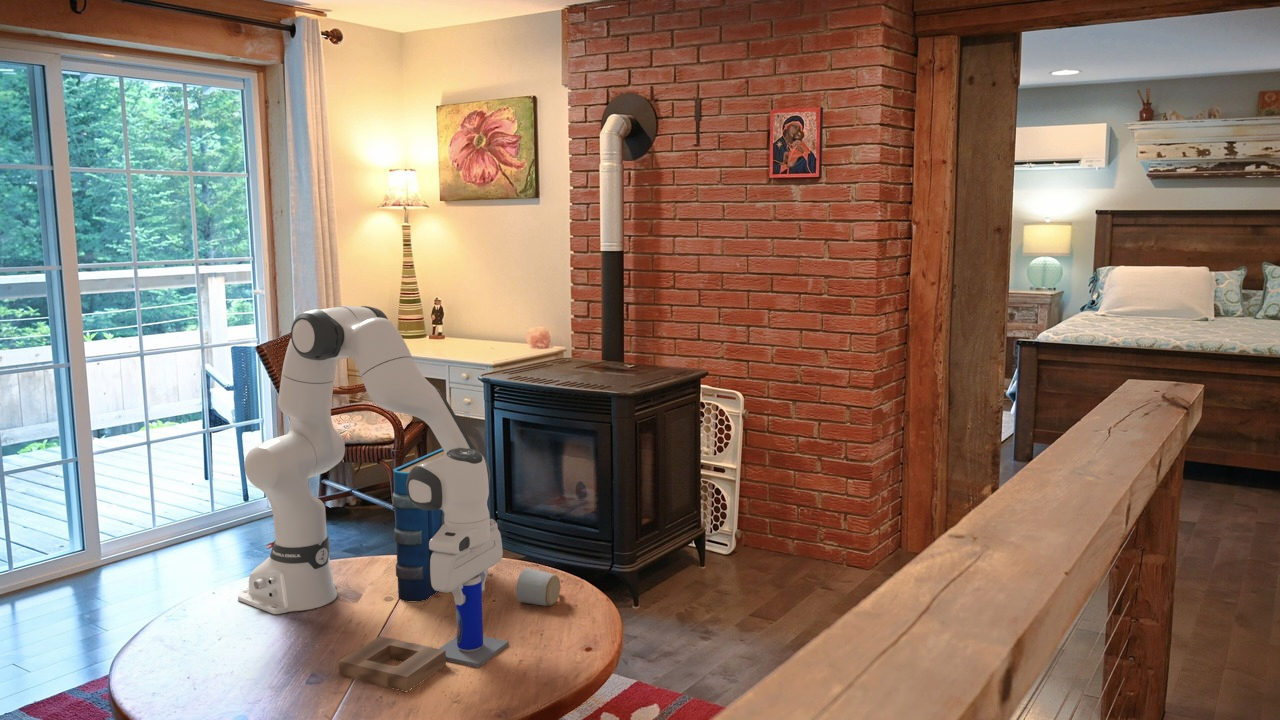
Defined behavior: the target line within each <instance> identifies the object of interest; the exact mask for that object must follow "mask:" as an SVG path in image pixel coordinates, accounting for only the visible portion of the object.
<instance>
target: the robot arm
mask: <svg viewBox="0 0 1280 720" xmlns="http://www.w3.org/2000/svg"><path fill="white" fill-rule="evenodd" d="M290 329H291V330H290V339H289V342H288V345H287V348H286V352H285V355H284V360H283V365H282V369H281V370H282V371H281V378H280V384H279V392H278V400H277V406H278V408H279V410H280V411H281V412H282V413H283V414H284V415H285V416H287V418H288V419H289V431H288V433H286V434H284V435H280V436H277V437H274V438H269V439H267V440H264V441H263V442H261V443H260V444H259V443H258V445H256V446H255V447H253V448H252V449H250V450H249V451H248V452H247V454H246V456H245V459H244V472H245V475H246V477H247V479H248V480H249V482H250V483H251V485H253V487H256V488H257V489H259V490H260V491H262V492H263V493H264V494H265V496H266V498H267V500H268V502H269V504H270V508H271V510H272V517H273V526H274V527H273V528H274V529H273V530H274V537H275V538H274V539H275V540H274V541H273V542H270V543H267V544H266V545H265V546H267V547H266V550H269V549H271V550H270V553H269V556H268V557H267V558H266V559H265V560H264V561H262V562H261V563H260V564H258V565H257V566H256V567H255V568H254V569H253V570H252V571H251V573H250V574H249V579H248V588H245V589H243V590H242V591H241V592H240V593H238V597H237V601H239V602H242V603H244V604H247V605H250V606H252V607H255V608H257V609H259V610H261V611H265V612H267V613H270V614H273V615H281V614H285V613H289V612H290V613H291V612H299V611H300V612H301V611H309V610H312V609H315V608H316V609H317V608H320V607H323V606H326V605H328V604H330V603H332V602H333V601H335V600H336V598H337V597H338V592H337V589H336V582H335V580H334V577H333V571H332V570H333V569H332V564H331V559H330V550H331V549H330V544H331V543H330V539H329V535H327V515H326V514H327V513H326V506H325V505H326V504H324V502H323V501H322V500H321V499H320V498H318V497H316V496H314V495H312V493H311V490H310V486H309V479H312V478H314V477H316V476H319V475H321V474H324V473H327V472H328V471H330V470H332V469H333V468H335V466H337V465H338V464H339V463H340V462H341V461H342V460H343V459H344V457H345V452H346V446H345V441H344V438H343V437H342V435H341V433H340V432H339V431H338V430H337V429H336V428H335V427H334V424H333V421H332V419H333V418H332V413H331V412H332V409H331V408H332V400H333V399H332V398H333V392H334V386H335V385H334V384H335V378H336V370H337V369H336V367H337V363H338V362H339V361H338V360H343V359H349V358H351V359H352V360H353V361H354V362H355V364H356V367H357V370H358V372H359V375H360V377H361V380H362V383H363V385H364V387H365V390H366V392H367V394H368V396H369V398H370V399H371V400H372V402H373V403H374V404H375V405H377V406H378V407H380V408H382V409H384V410H387V411H388V412H393V413H399V414H404V415H409V416H413V417H415V418H418V419H420V420H421V421H423V422H424V423H425V424H427V426H429V427H430V430H431V431H432V433H433V434H434V436H435V438H436V440H437V441H438V443H439V445H440V446H441V448H443V450H444V452H445V454H444V456H442V457H440V458H438V459H436V460H433V461H429V462H426V463H422V464H420V465H418V466H415V467H413V468H412V469H411V471H410V473H409V475H408V478H407V484H406V486H407V493H408V496H409V499H410V500H411V502H412V503H413V504H414V505H415V506H416V507H418V508H419V509H421V510H443V511H444V514H445V515H444V524H443V525H442V526H441V528H440V529H439V531H438V532H437V533H436V534H435V535H434V536H433V537H432V538H431V540H430V541H429V549H430V550H433V551H434V552H433V553H432V555H431V559H430V575H431V585H432V587H433V589H434V590H435V591H439V592H440V593H446V594H447V593H450V592H451V594H452V595H453V597H454V598H453V601H454V604H455V606H456V605H462V604H464V603H465V602H466V594H463V593H462V590H461V589H462V588H463V583H465V582H467V581H468V580H470V579H472V578H473V577H475V576H477V575H478V574H480V577H481V581H482V593H483V592H484V591H485V585H486V584H485V583H486V580H487V577H488V574H489V573H488V572H489V569H490V568H492V567H494V566H496V564H498V563H500V562H501V561H502V559H503V555H504V551H503V543H502V542H503V541H502V534H501V532H500V529H498V528H499V527H498V522H496V520H495V519H494V518H490V516H491V515H490V511H489V508H488V500H489V499H488V498H489V495H490V487H489V486H490V480H491V471H490V467H489V465H488V462H487V461H486V459H485V457H484V456H483V454H482V453H481V452H480V451H478V449H477V448H476V447H475V446H474V444H473V442H472V441H471V439H470V438H469V436H468V434H467V433H466V431H465V429H464V428H463V426H462V424H461V422H460V421H459V419H458V417H457V416H456V413H455V412H454V410H453V409H452V407H451V405H450V404H449V402H448V400H447V399H446V397H445V396H444V394H443V393H442V391H440V389H439V388H437V387H436V385H433V384H432V383H431V382H430V381H428V379H427V378H426V377H425V376H424V375H423V374H422V372H421V371H420V369H419V368H418V366H417V364H416V363H415V361H414V357H413V356H412V354H411V352H410V350H409V348H408V345H407V343H406V342H405V339H404V338H403V336H402V335H401V333H400V331H399V330H398V328H397V327H396V325H395V324H394V323H393V322H392V320H389V318H388V317H387V314H385V312H383V310H380V309H378V308H376V307H374V306H373V307H372V306H369V305H368V306H367V305H362V306H353V305H352V306H351V305H340V306H335V307H329V308H328V307H327V308H323V309H317V308H315V309H311V310H308V311H304V312H302V313H300V314H298V315H297V316H296V317H295V319H294V320H293V322H292V324H291V328H290Z"/></svg>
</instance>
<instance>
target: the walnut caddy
mask: <svg viewBox="0 0 1280 720" xmlns="http://www.w3.org/2000/svg"><path fill="white" fill-rule="evenodd" d="M390 660H391V661H395V660H396V662H400V661H401V662H400V663H399V664H398V665H396V666H394V665H390V664H386V663H387V662H388V661H390ZM446 665H447V661H446V650H442V649H439V648H436V647H432V646H428V645H422V644H417V643H413V642H409V641H405V640H404V641H403V640H399V639H395V638H390V637H386V636H382V635H381V636H380V635H379V636H378V637H375V638H374V639H372V640H371V641H370V642H368V643H366V644H364V645H362V646H361V647H359V648H358V649H356V650H355V651H352V652H351V653H350V654H348V655H346V656H344V657H342V658H341V659H339V660H338V676H339V677H343V678H347V679H350V680H355V681H359V682H364V683H367V684H372V685H374V686H375V685H376V686H380V687H385V688H387V687H388V688H389V689H392V688H394V689H393V690H396V689H399V690H398V691H400V690H403V691H402V692H404V691H409V690H410V689H411V688H413V687H414V686H416V685H417V684H419V683H420V682H421V683H422V681H423V680H424V681H426V680H427V679H428V678H430V677H431V676H433V675H434V674H435V673H437V672H438V671H440V670H441V669H443V668H444V667H445V666H446ZM439 669H440V670H439ZM436 671H437V672H436ZM432 674H433V675H432ZM429 676H430V677H429ZM426 678H427V679H426ZM425 679H426V680H425ZM424 681H423V682H424ZM421 683H420V684H421ZM420 684H419V685H420ZM417 686H418V685H417ZM417 686H416V687H417ZM414 688H415V687H414ZM414 688H413V689H414ZM411 690H412V689H411ZM411 690H410V691H411ZM410 691H409V692H410Z"/></svg>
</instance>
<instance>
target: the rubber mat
mask: <svg viewBox="0 0 1280 720" xmlns="http://www.w3.org/2000/svg"><path fill="white" fill-rule="evenodd" d="M509 642H510V641H508V640H506V639H505V640H504V639H498V638H496V637H488V636H485V635H483V645H482V647H481V648H480V649H479V650H477V651H473V652H464V651H461V650H460V649H459V648H458V646H457V636H455V637H454V638H452V639H451V640H449V642H447V643H445V644H444V645H442V646H441V647H439V648H438V649H442V650H446V662H450V663H454V664H455V663H456V664H460V665H464V666H469V667H472V666H473V668H477V669H479V668H480V667H482V666H483V665H484V664H485V663H487V662H488V661H489V660H490V659H493V657H496V655H498V654H499V653H500V652H502V651H503V650H504V649H505V648H507V647H508V646H509V644H510V643H509Z"/></svg>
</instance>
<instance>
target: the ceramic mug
mask: <svg viewBox="0 0 1280 720" xmlns="http://www.w3.org/2000/svg"><path fill="white" fill-rule="evenodd" d="M560 592H561V581H560V578H559V577H558V576H557V575H556V574H553V573H551V572H546V571H541V570H538V569H533V568H530V567H526V568H524V569H522V570H521V572H520V574H519V575H518V578H517V581H516V587H515V594H516V599H517V601H518V602H520V603H526V604H531V605H537V606H538V605H539V606H543V607H551V606H552V605H554V604H556V602H557V600H558V598H559V596H560Z"/></svg>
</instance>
